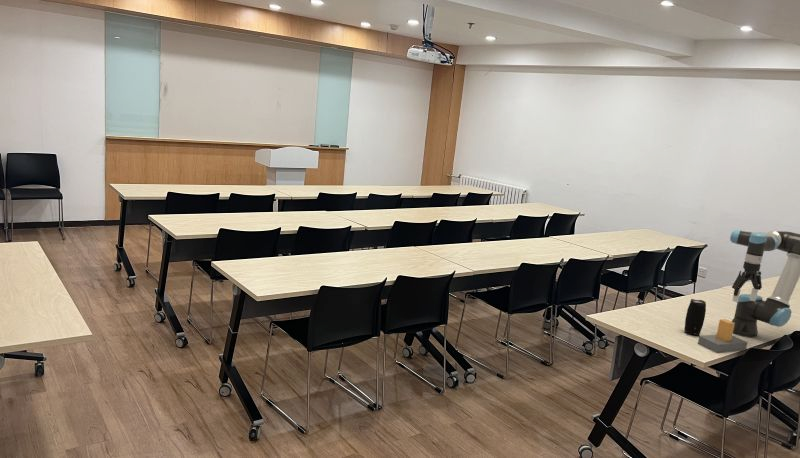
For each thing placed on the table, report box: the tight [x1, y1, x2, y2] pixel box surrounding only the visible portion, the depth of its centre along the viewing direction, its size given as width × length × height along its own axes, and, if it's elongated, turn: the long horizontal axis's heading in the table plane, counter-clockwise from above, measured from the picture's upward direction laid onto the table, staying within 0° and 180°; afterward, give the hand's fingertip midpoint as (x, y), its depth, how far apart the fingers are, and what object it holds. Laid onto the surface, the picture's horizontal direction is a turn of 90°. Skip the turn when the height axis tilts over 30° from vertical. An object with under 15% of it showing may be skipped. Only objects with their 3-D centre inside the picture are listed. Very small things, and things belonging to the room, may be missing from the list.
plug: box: [715, 318, 735, 342], centre depth 318 cm, size 6×4×14 cm, turn 22°
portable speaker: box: [684, 298, 707, 337], centre depth 335 cm, size 9×9×20 cm
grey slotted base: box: [697, 334, 748, 354], centre depth 319 cm, size 12×22×4 cm, turn 112°
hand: (743, 301), depth 313 cm, fingers open, 13 cm apart
